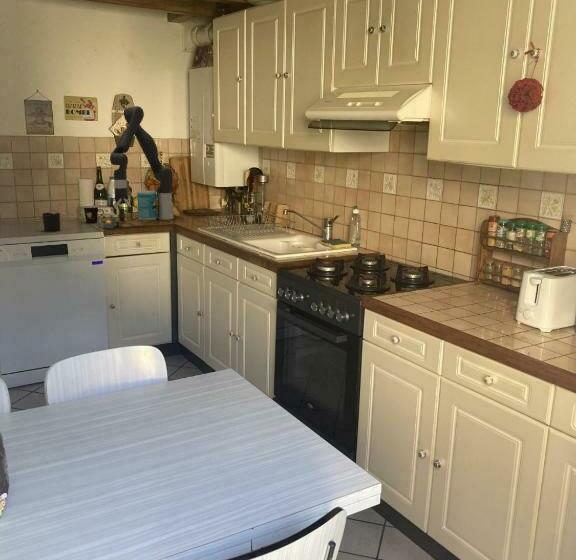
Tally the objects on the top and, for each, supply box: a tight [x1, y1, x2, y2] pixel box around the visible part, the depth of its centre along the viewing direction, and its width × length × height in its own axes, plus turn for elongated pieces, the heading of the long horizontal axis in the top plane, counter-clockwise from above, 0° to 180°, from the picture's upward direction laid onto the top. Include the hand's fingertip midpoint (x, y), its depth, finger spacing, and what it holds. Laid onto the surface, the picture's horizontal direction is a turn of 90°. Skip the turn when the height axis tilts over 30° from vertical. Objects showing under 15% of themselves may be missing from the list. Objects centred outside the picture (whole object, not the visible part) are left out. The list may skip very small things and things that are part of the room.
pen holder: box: [42, 212, 61, 233], centre depth 359 cm, size 9×9×10 cm
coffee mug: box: [83, 205, 105, 224], centre depth 387 cm, size 12×9×10 cm
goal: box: [97, 220, 115, 229], centre depth 374 cm, size 7×10×3 cm, turn 35°
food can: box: [136, 190, 158, 221], centre depth 404 cm, size 12×12×18 cm
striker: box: [110, 208, 130, 227], centre depth 378 cm, size 9×6×10 cm, turn 125°
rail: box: [120, 220, 144, 228], centre depth 383 cm, size 14×8×2 cm, turn 125°
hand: (122, 213), depth 378 cm, fingers open, 8 cm apart
